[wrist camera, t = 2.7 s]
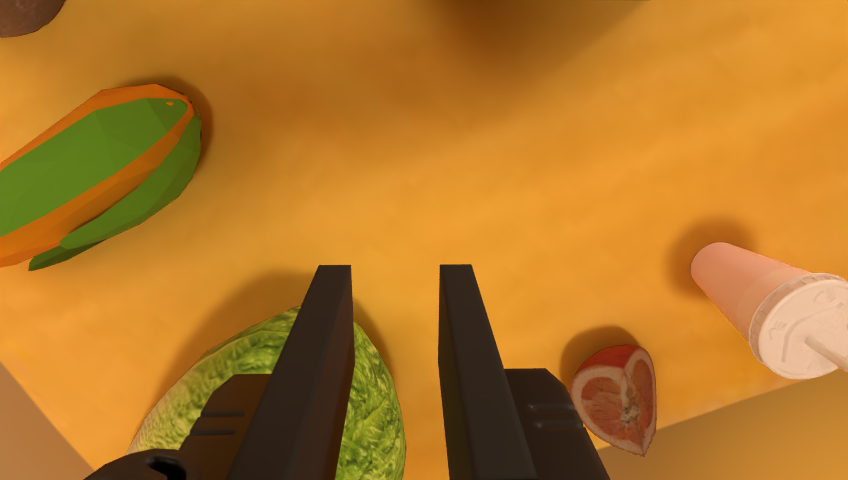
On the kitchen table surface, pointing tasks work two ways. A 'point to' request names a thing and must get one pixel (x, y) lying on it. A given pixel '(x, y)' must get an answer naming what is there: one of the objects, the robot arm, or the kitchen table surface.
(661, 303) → the kitchen table surface
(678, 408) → the kitchen table surface
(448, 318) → the robot arm
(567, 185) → the kitchen table surface
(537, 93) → the kitchen table surface
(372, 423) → the lettuce
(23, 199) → the corn
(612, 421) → the fruit slice
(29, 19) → the pillar candle
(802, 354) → the smoothie
